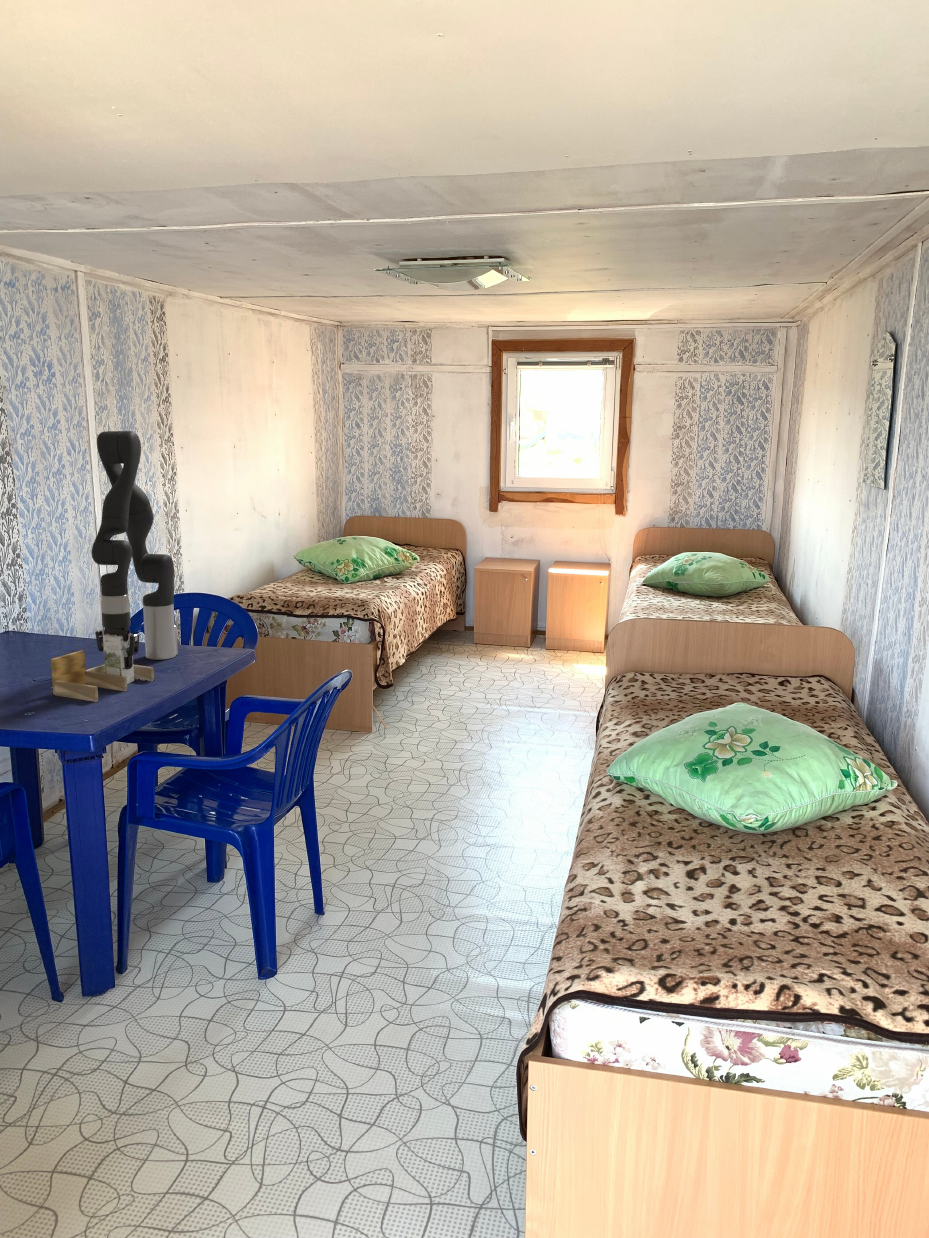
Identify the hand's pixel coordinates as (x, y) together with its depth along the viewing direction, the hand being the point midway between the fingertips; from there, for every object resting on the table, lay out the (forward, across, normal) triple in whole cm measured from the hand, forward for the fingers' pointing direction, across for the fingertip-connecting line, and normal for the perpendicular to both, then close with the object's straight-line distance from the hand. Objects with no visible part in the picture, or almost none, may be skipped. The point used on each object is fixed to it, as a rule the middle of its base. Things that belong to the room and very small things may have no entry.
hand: (119, 667), depth 254 cm
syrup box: (+5, 0, 0) cm, 5 cm away
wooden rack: (+5, 0, +6) cm, 7 cm away
